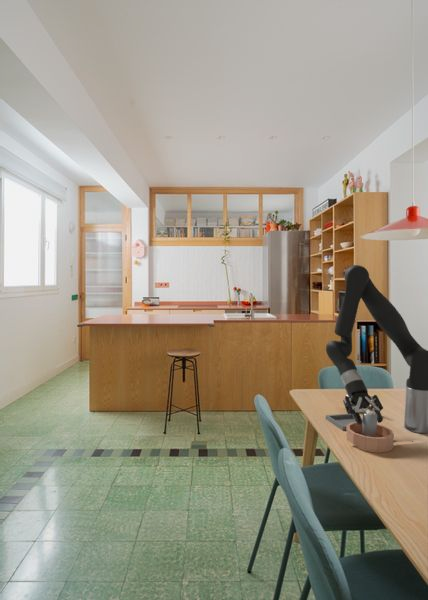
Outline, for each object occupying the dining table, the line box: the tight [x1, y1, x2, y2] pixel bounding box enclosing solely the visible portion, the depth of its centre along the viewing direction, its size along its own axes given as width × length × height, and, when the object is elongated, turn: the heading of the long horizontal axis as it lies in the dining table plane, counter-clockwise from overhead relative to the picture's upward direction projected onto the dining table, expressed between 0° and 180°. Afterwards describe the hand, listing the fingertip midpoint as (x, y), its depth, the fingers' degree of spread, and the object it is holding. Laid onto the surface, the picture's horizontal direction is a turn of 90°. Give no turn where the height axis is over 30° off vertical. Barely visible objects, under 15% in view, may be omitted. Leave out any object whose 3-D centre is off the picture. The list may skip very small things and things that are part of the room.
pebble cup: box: [362, 409, 378, 437], centre depth 149 cm, size 5×5×11 cm
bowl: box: [345, 422, 395, 454], centre depth 149 cm, size 16×16×5 cm
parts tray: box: [325, 413, 363, 431], centre depth 166 cm, size 13×13×2 cm
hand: (370, 422), depth 148 cm, fingers open, 8 cm apart
